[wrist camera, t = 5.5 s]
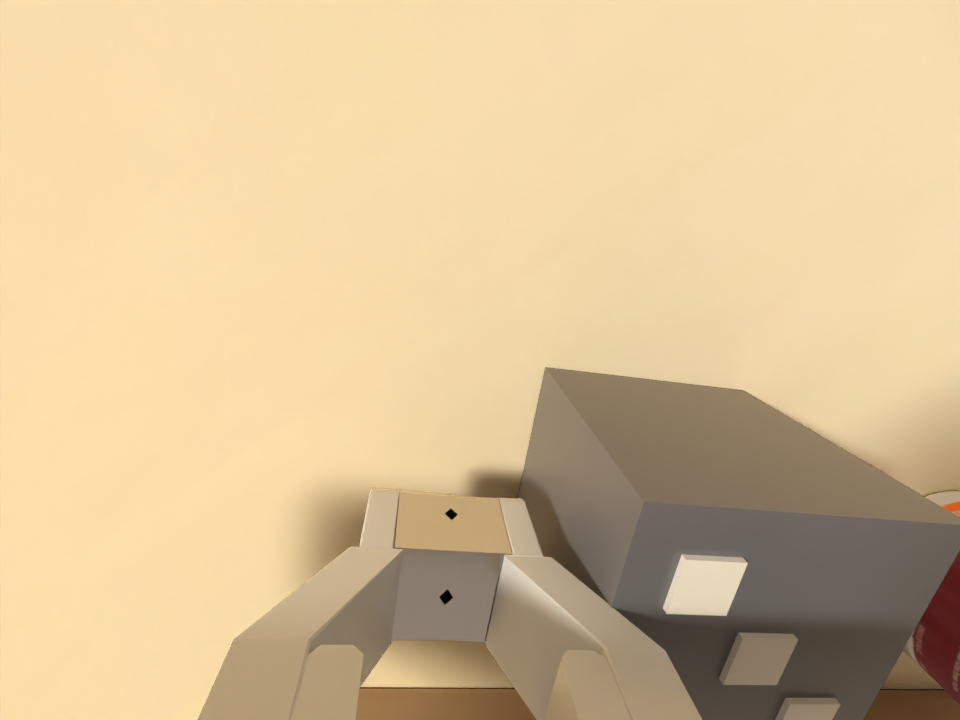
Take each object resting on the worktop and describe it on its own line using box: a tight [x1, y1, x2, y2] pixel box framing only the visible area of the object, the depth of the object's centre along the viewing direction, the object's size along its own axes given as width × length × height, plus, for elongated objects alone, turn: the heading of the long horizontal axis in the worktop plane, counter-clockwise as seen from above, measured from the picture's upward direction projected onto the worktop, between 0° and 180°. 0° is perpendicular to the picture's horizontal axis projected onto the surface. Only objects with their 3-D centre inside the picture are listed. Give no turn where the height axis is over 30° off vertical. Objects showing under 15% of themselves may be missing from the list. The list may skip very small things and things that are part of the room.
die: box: [518, 367, 960, 720], centre depth 9 cm, size 5×5×5 cm
